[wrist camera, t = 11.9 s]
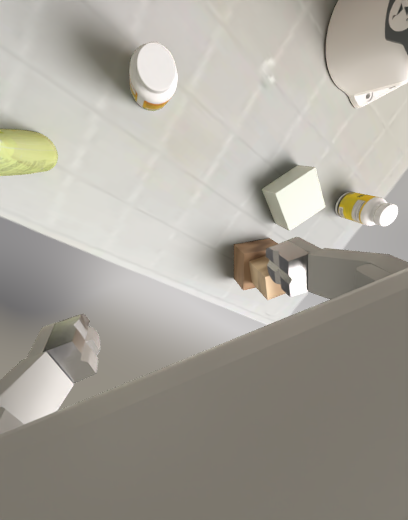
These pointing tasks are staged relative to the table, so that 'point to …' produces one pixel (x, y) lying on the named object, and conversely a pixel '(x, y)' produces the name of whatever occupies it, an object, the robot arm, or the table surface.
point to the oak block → (264, 278)
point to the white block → (294, 196)
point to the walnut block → (248, 259)
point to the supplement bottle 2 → (366, 209)
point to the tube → (25, 152)
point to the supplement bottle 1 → (152, 76)
